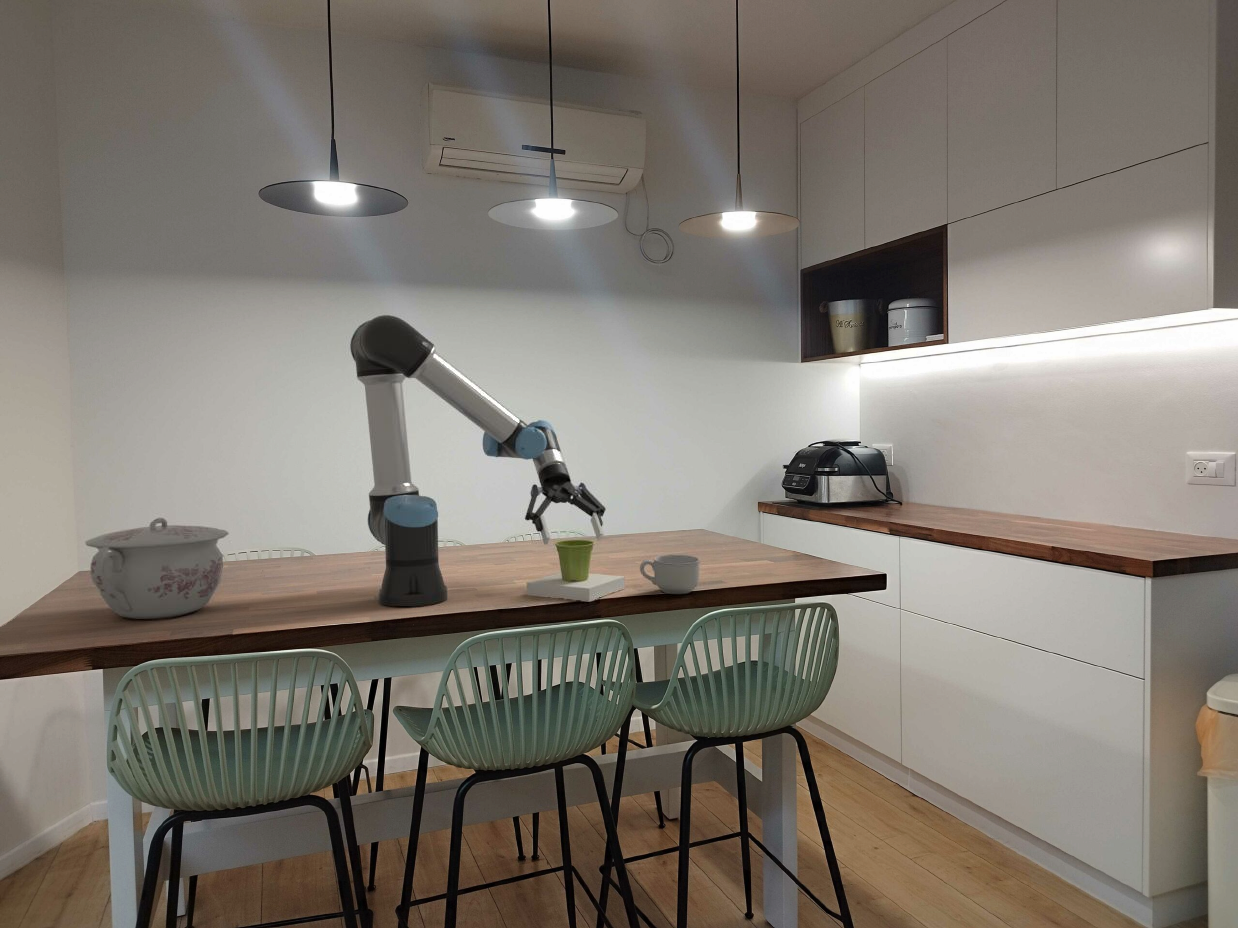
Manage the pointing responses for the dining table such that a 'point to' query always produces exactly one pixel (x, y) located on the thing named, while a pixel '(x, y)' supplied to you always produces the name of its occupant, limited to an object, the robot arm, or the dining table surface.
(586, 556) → the plant pot
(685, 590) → the teacup
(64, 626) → the dining table surface
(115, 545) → the chamber pot
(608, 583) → the plinth
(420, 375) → the robot arm
